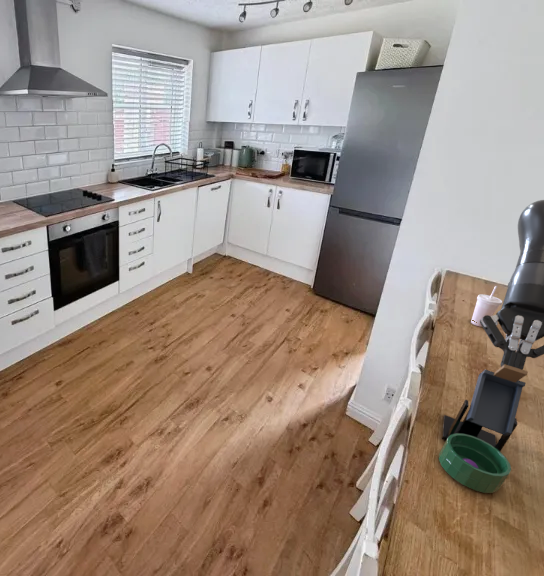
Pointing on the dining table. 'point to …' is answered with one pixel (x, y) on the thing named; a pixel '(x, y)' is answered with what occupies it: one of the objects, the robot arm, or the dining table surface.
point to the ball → (471, 462)
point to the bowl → (480, 452)
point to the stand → (471, 429)
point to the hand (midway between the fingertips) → (510, 372)
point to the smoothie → (485, 307)
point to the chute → (497, 399)
